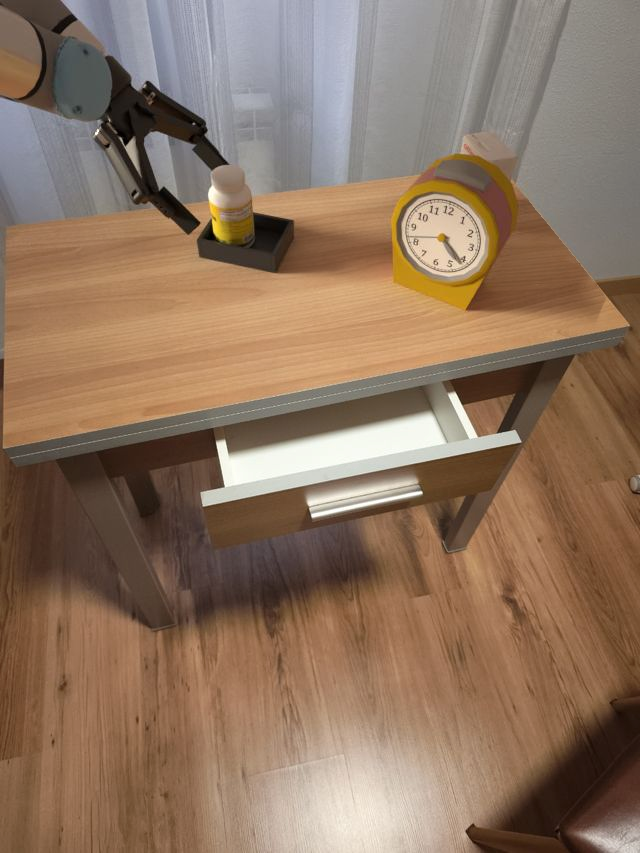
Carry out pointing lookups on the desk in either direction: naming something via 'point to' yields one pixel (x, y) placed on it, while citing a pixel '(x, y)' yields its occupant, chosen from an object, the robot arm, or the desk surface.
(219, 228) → the pill bottle
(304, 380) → the desk surface
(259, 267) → the bin
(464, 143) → the ink box
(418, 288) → the alarm clock
